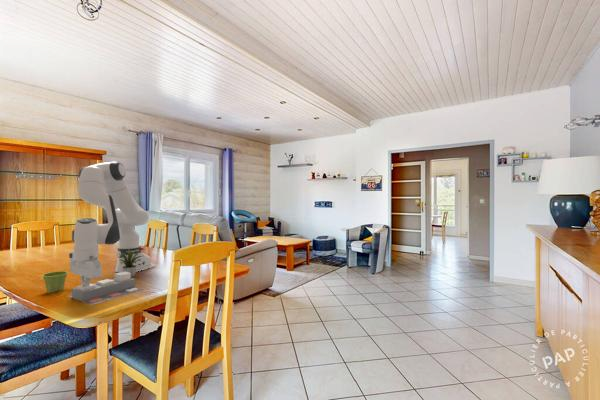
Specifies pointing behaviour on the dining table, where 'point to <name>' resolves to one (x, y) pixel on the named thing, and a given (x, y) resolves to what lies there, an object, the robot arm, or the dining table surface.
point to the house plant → (129, 262)
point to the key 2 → (122, 276)
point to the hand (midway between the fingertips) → (85, 285)
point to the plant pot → (55, 281)
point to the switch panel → (105, 292)
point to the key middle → (105, 282)
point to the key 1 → (85, 287)
